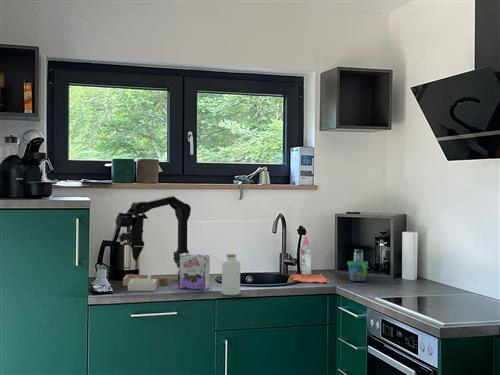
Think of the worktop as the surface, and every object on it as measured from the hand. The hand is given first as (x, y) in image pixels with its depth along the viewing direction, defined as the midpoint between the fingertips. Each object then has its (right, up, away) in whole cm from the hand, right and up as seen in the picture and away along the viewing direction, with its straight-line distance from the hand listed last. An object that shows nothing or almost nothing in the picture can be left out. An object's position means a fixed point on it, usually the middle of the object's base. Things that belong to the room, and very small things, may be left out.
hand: (134, 259), depth 293 cm
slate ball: (+1, -12, +3) cm, 12 cm away
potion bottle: (+47, -14, -18) cm, 52 cm away
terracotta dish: (+1, -13, +3) cm, 13 cm away
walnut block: (+14, -13, +2) cm, 19 cm away
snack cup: (+113, -14, +24) cm, 116 cm away
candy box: (+29, -13, -4) cm, 32 cm away
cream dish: (+6, -13, -10) cm, 17 cm away
